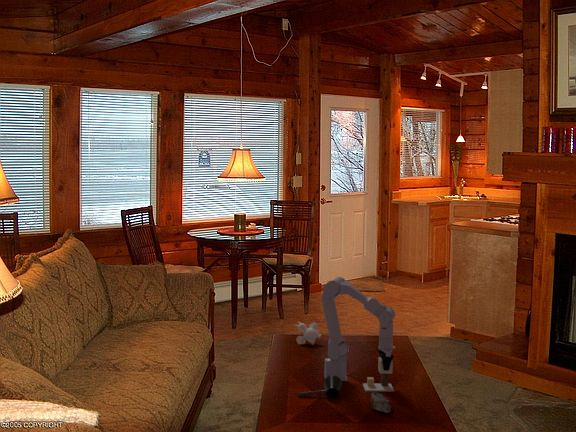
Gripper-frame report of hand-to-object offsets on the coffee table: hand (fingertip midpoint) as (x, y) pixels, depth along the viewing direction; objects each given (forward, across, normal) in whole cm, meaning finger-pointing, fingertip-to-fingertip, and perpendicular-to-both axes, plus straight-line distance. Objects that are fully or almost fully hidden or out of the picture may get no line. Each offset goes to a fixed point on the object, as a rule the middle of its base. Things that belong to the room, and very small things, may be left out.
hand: (385, 368), depth 308 cm
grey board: (+8, -2, +3) cm, 9 cm away
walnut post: (+8, 0, 0) cm, 8 cm away
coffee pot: (+8, -9, +28) cm, 31 cm away
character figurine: (+8, +63, +29) cm, 70 cm away
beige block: (+2, 0, 0) cm, 2 cm away
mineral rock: (+8, -24, +5) cm, 26 cm away
